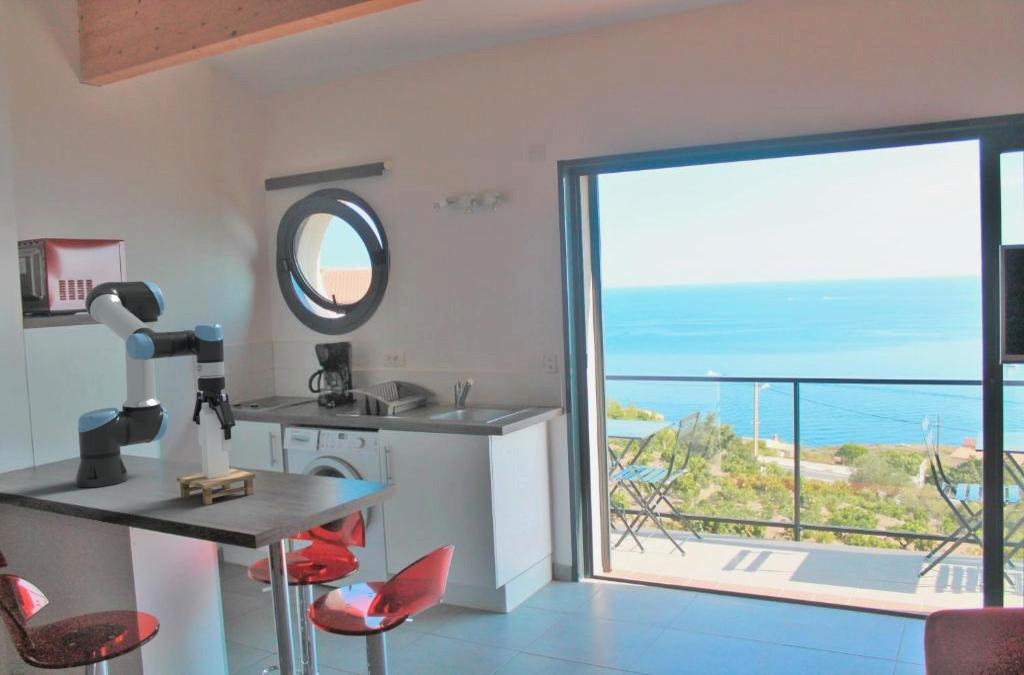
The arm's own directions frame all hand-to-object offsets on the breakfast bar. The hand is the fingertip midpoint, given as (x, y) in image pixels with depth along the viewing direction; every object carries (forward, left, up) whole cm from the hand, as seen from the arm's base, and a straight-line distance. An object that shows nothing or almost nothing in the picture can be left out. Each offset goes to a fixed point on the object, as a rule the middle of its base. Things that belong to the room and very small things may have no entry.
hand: (214, 448), depth 234 cm
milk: (0, 0, -8) cm, 8 cm away
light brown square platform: (0, 0, -14) cm, 14 cm away
